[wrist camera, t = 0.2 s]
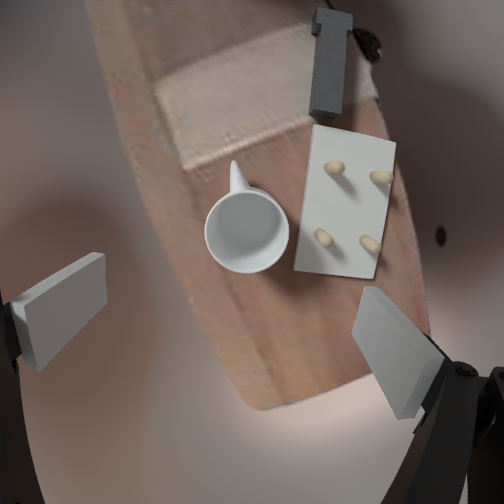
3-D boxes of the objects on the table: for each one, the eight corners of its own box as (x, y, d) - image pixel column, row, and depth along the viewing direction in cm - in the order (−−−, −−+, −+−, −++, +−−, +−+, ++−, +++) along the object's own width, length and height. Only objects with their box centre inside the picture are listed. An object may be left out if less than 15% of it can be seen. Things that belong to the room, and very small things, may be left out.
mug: (269, 156, 39) (274, 149, 28) (285, 242, 42) (295, 265, 31) (205, 169, 39) (189, 167, 29) (224, 254, 42) (214, 280, 32)
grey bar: (312, 18, 33) (317, 6, 29) (345, 26, 33) (352, 14, 29) (303, 113, 37) (308, 107, 33) (338, 120, 37) (346, 115, 34)
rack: (312, 125, 38) (322, 118, 32) (392, 143, 38) (410, 140, 32) (292, 267, 43) (298, 281, 37) (370, 276, 43) (384, 290, 37)
